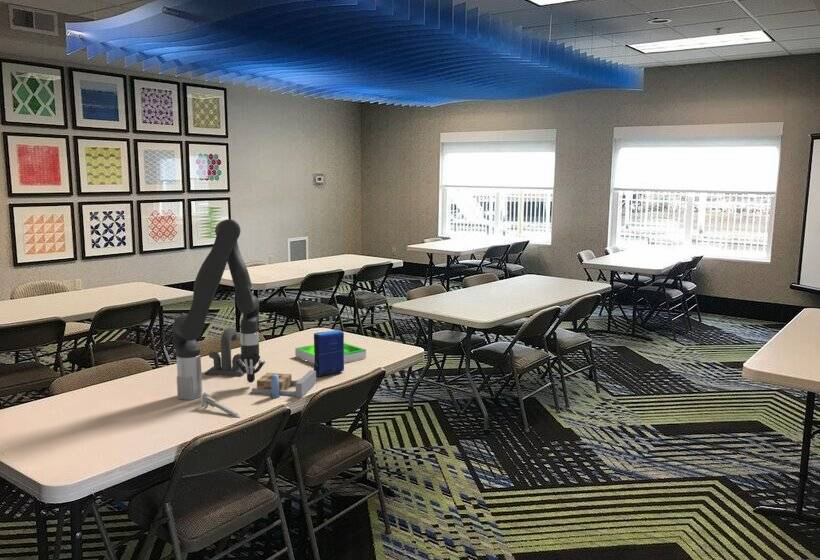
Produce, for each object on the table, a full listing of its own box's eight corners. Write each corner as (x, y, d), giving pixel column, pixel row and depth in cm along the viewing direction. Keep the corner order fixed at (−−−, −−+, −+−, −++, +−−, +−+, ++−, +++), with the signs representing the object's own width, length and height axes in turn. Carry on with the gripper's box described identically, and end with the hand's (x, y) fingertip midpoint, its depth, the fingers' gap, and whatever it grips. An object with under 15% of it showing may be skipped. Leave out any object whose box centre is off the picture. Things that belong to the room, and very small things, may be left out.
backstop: (301, 397, 261) (301, 383, 260) (249, 394, 265) (249, 380, 264) (316, 384, 279) (315, 370, 278) (266, 380, 282) (266, 367, 282)
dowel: (277, 398, 260) (277, 376, 259) (270, 397, 261) (269, 376, 259) (280, 395, 263) (279, 374, 262) (273, 395, 264) (272, 374, 262)
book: (317, 378, 287) (316, 334, 284) (311, 375, 291) (311, 332, 288) (345, 372, 295) (344, 330, 292) (339, 369, 299) (339, 327, 296)
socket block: (282, 392, 266) (281, 382, 265) (257, 390, 268) (256, 380, 267) (291, 384, 277) (291, 374, 276) (267, 382, 279) (267, 372, 278)
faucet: (254, 366, 304) (253, 325, 301) (243, 376, 288) (241, 333, 285) (217, 365, 306) (216, 323, 303) (204, 375, 290) (202, 331, 287)
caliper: (201, 407, 250) (200, 392, 249) (203, 406, 251) (202, 391, 250) (238, 418, 239) (237, 402, 238) (240, 417, 240) (239, 401, 239)
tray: (295, 358, 320) (295, 348, 320) (336, 349, 337) (336, 340, 336) (324, 369, 302) (324, 358, 301) (366, 359, 319) (366, 349, 318)
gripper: (231, 343, 269) (232, 383, 272) (261, 345, 267) (262, 385, 269) (238, 339, 276) (240, 378, 279) (268, 341, 274) (269, 380, 277)
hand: (251, 382), depth 274 cm, fingers closed
